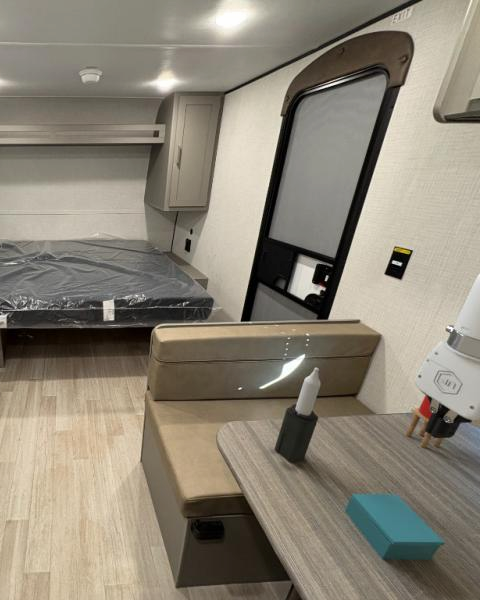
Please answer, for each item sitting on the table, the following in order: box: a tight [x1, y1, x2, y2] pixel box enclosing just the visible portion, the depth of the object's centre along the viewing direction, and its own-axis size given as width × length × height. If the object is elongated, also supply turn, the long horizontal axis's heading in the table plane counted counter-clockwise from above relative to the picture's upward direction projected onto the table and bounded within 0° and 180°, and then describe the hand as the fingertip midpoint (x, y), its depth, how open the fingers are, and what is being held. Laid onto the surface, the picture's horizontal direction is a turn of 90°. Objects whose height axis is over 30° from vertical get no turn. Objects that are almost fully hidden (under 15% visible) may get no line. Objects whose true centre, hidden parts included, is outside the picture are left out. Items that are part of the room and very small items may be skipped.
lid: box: [351, 493, 446, 546], centre depth 58 cm, size 9×9×1 cm
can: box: [418, 394, 432, 419], centre depth 77 cm, size 6×6×9 cm
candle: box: [274, 367, 321, 465], centre depth 73 cm, size 5×5×25 cm
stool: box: [405, 407, 445, 449], centre depth 80 cm, size 6×6×8 cm
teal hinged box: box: [344, 496, 441, 560], centre depth 59 cm, size 9×9×5 cm
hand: (437, 434), depth 57 cm, fingers closed
